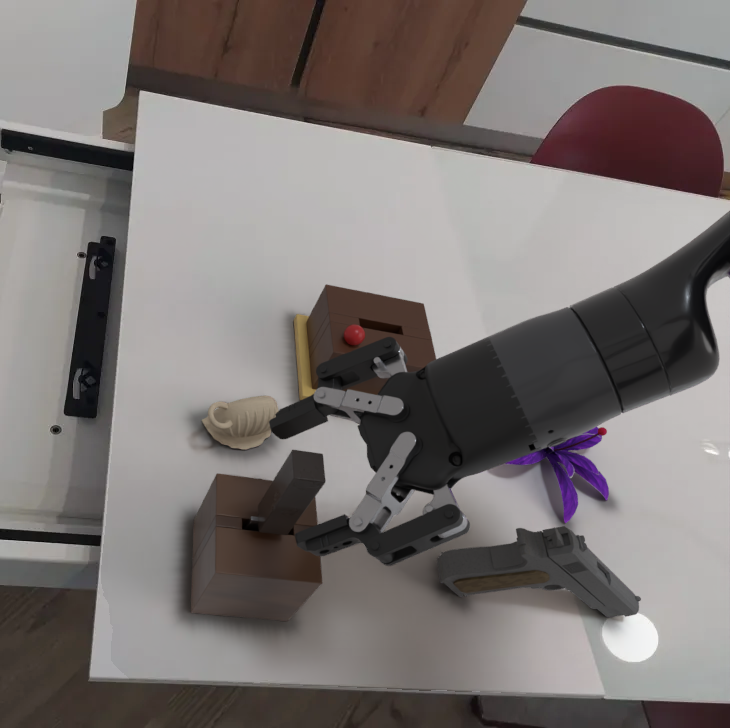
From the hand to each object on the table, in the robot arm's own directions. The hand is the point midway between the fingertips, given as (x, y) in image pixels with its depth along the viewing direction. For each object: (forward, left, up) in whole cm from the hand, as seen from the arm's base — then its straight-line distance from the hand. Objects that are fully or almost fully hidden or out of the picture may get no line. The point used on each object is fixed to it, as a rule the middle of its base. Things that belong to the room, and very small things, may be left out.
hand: (286, 485), depth 50 cm
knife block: (-1, 0, -14) cm, 14 cm away
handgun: (-26, -10, -14) cm, 31 cm away
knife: (-1, 0, -14) cm, 14 cm away
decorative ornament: (+4, -13, -14) cm, 20 cm away
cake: (-5, -27, -14) cm, 31 cm away
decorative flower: (-27, -27, -14) cm, 41 cm away
